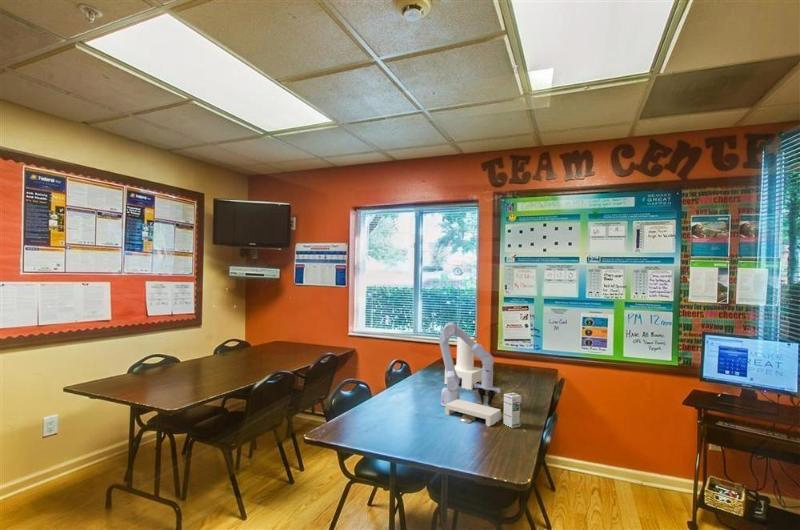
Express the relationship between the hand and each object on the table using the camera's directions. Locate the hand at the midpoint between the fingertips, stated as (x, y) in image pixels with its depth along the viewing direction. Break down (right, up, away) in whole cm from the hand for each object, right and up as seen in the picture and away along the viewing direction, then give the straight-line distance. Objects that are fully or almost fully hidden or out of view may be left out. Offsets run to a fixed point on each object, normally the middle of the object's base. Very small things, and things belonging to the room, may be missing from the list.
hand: (486, 404), depth 213 cm
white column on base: (-4, -4, +49) cm, 49 cm away
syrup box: (+7, -3, -22) cm, 23 cm away
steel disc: (-14, -2, -18) cm, 23 cm away
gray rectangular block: (-5, -3, -7) cm, 9 cm away
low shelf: (-10, -2, -12) cm, 16 cm away
